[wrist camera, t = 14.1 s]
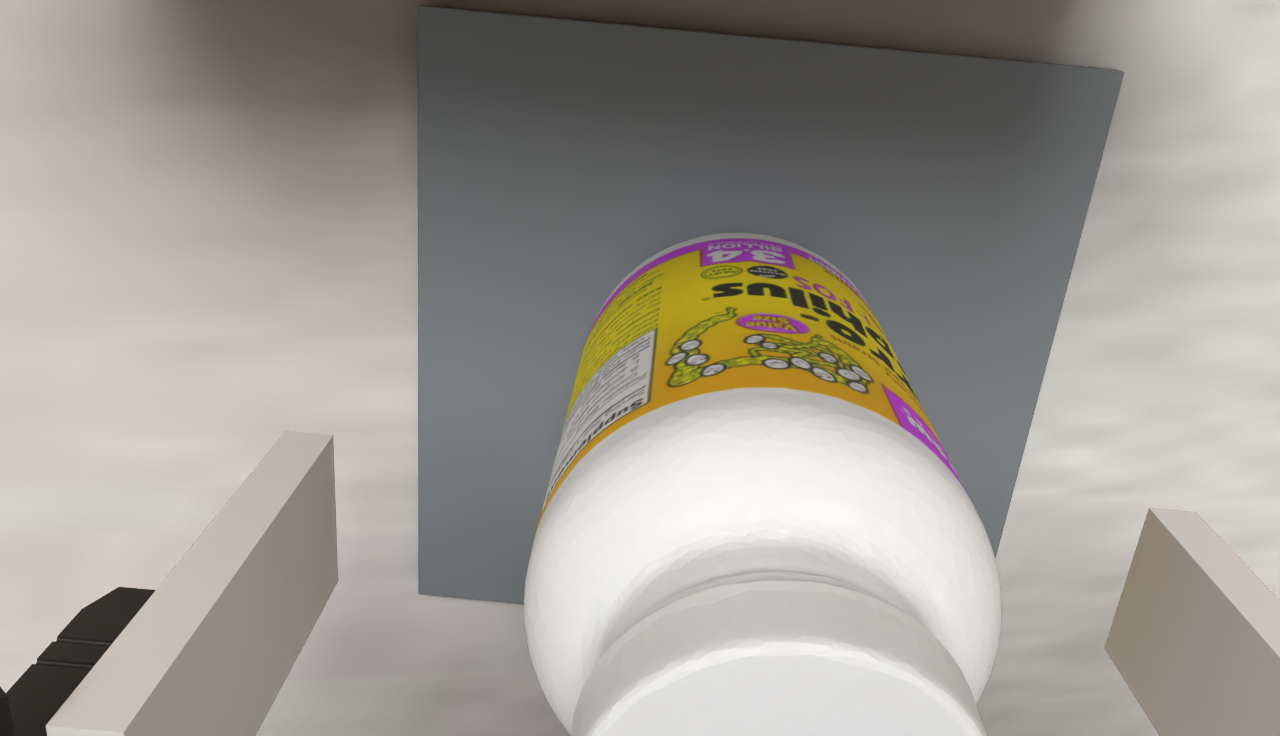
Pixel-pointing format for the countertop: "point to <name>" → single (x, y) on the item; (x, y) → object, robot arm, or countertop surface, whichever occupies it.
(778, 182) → the slate mat
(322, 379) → the countertop surface
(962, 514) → the supplement bottle
